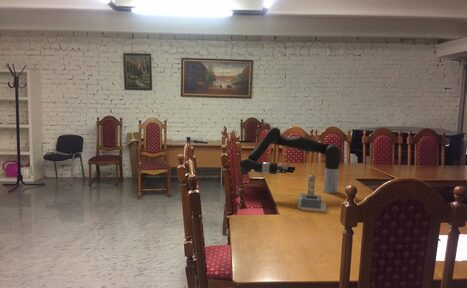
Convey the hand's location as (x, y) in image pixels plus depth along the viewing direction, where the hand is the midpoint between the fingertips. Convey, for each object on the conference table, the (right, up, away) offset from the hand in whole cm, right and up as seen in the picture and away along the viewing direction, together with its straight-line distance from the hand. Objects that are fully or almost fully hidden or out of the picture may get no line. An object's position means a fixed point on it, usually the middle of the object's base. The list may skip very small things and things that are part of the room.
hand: (294, 170), depth 236 cm
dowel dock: (+8, -21, -16) cm, 28 cm away
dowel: (+11, -19, 0) cm, 22 cm away
